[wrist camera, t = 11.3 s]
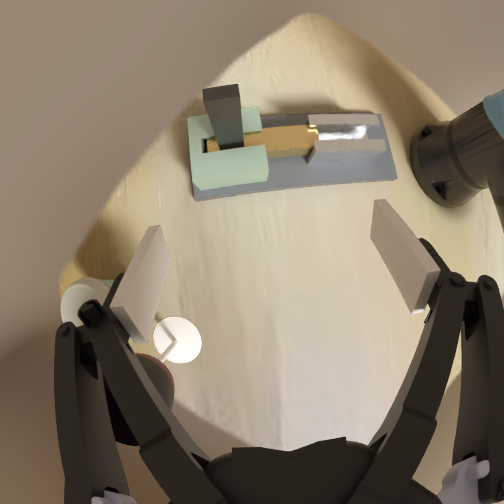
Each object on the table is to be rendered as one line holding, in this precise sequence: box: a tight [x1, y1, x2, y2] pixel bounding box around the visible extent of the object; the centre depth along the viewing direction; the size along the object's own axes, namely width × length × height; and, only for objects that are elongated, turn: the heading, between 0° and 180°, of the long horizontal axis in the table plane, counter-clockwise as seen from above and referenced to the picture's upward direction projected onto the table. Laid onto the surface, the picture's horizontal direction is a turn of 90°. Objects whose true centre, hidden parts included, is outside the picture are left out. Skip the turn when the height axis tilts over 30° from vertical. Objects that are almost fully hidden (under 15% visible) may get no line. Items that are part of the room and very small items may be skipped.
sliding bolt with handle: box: [203, 84, 319, 159], centre depth 27 cm, size 14×3×15 cm, turn 98°
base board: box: [193, 113, 397, 201], centre depth 36 cm, size 30×11×2 cm, turn 98°
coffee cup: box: [61, 277, 114, 327], centre depth 31 cm, size 8×8×12 cm
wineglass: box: [102, 317, 202, 446], centre depth 27 cm, size 8×9×20 cm
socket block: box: [187, 107, 269, 191], centre depth 33 cm, size 9×9×5 cm
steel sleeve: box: [304, 114, 387, 164], centre depth 33 cm, size 10×5×5 cm, turn 98°
